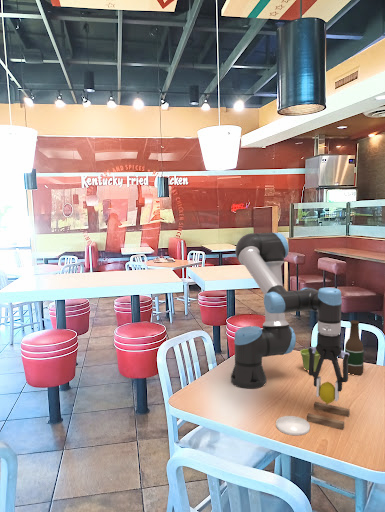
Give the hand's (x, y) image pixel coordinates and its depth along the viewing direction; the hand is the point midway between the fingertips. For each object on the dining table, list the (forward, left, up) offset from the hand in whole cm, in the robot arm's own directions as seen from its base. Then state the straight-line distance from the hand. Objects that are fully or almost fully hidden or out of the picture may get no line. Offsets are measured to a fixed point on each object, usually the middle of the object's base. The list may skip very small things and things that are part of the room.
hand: (327, 397), depth 137 cm
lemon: (0, 0, -3) cm, 3 cm away
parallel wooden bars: (0, 0, -7) cm, 7 cm away
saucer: (-9, -12, -7) cm, 17 cm away
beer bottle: (+1, +48, -7) cm, 48 cm away
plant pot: (-17, +42, -7) cm, 45 cm away
